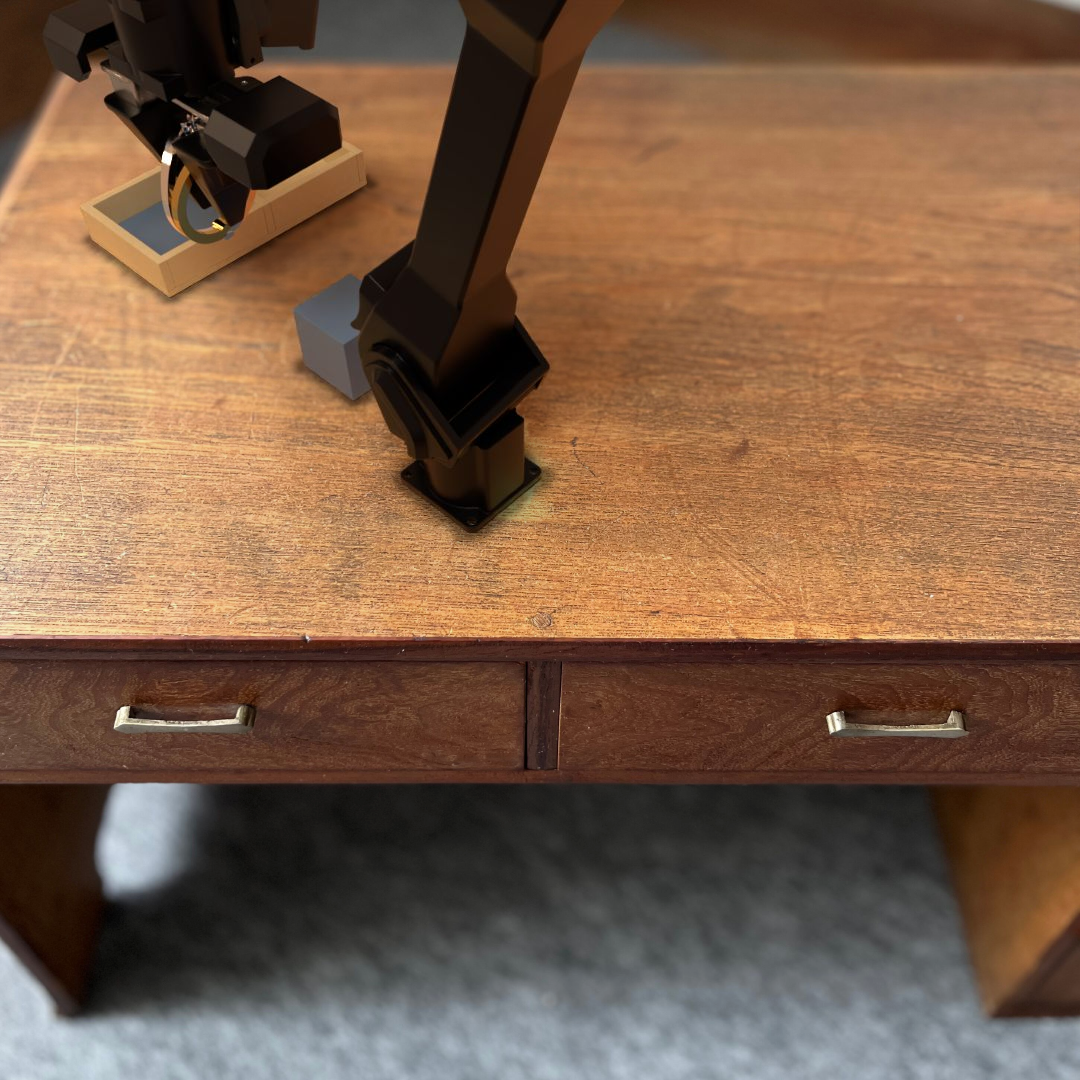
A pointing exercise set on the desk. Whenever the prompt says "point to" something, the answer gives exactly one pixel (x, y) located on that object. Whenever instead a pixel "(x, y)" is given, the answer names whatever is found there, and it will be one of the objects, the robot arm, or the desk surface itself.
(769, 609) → the desk surface
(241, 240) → the tray
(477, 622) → the desk surface
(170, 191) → the ring
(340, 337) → the blue block
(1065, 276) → the desk surface
